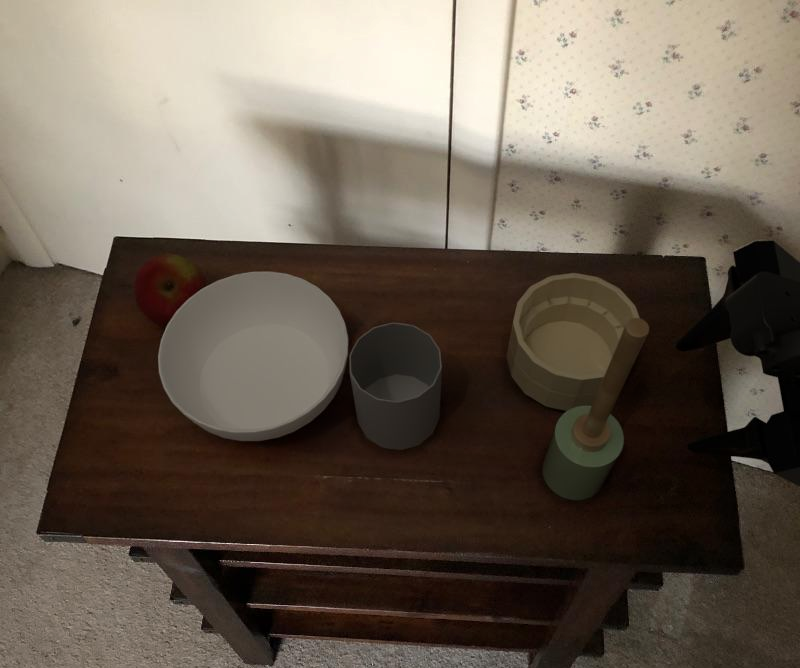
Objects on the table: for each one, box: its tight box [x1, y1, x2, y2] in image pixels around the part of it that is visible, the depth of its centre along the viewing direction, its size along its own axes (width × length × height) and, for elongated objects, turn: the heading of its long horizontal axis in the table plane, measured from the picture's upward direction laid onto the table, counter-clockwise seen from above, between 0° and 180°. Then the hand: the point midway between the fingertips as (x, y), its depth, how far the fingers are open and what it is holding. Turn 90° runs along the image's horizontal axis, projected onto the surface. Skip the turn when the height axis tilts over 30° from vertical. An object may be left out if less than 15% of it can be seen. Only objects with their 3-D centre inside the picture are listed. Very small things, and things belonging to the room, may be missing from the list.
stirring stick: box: [571, 317, 650, 452], centre depth 60 cm, size 3×3×17 cm
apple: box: [133, 253, 208, 329], centre depth 81 cm, size 8×8×8 cm
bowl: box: [157, 271, 349, 442], centre depth 76 cm, size 18×18×7 cm
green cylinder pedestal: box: [541, 406, 625, 501], centre depth 71 cm, size 6×6×8 cm
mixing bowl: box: [506, 272, 640, 412], centre depth 77 cm, size 12×12×7 cm
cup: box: [348, 321, 443, 451], centre depth 73 cm, size 8×8×10 cm
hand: (684, 396), depth 62 cm, fingers open, 9 cm apart
